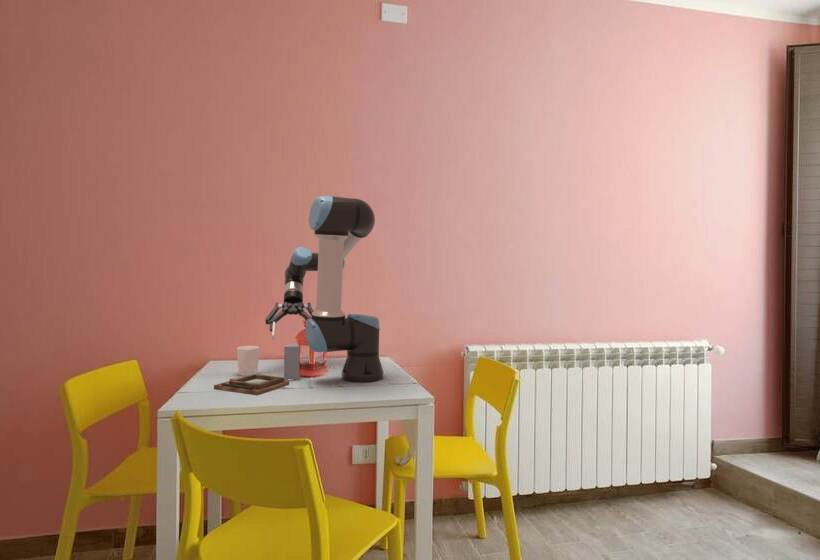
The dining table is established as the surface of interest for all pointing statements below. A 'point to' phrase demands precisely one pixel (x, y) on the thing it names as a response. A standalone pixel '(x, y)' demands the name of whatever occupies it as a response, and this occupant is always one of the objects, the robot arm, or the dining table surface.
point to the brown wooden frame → (252, 384)
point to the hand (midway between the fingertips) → (291, 337)
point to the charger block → (291, 361)
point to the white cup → (248, 360)
